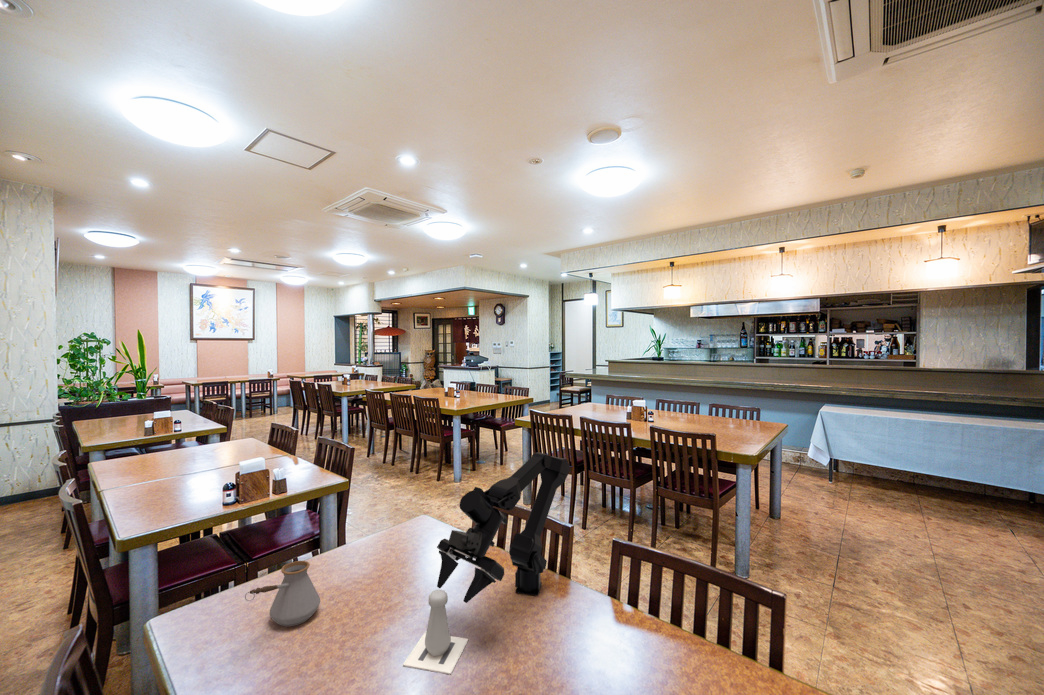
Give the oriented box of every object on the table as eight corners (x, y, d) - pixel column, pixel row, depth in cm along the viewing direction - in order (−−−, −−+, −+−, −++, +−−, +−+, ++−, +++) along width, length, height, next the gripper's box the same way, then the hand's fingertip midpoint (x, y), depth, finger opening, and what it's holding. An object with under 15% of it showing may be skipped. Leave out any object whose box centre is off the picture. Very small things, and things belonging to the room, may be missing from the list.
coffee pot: (290, 601, 117) (290, 546, 117) (329, 605, 115) (329, 549, 115) (224, 657, 96) (225, 590, 96) (271, 663, 94) (271, 594, 94)
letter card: (468, 640, 102) (468, 638, 102) (450, 674, 91) (450, 673, 91) (425, 633, 104) (425, 631, 104) (402, 666, 94) (402, 664, 94)
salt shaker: (451, 657, 96) (451, 598, 96) (424, 661, 94) (425, 602, 94) (449, 640, 101) (450, 584, 101) (424, 643, 100) (425, 587, 100)
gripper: (442, 506, 111) (406, 567, 102) (496, 526, 99) (460, 596, 91) (465, 527, 117) (433, 585, 109) (518, 547, 105) (486, 615, 97)
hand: (451, 594), depth 101 cm, fingers open, 9 cm apart
